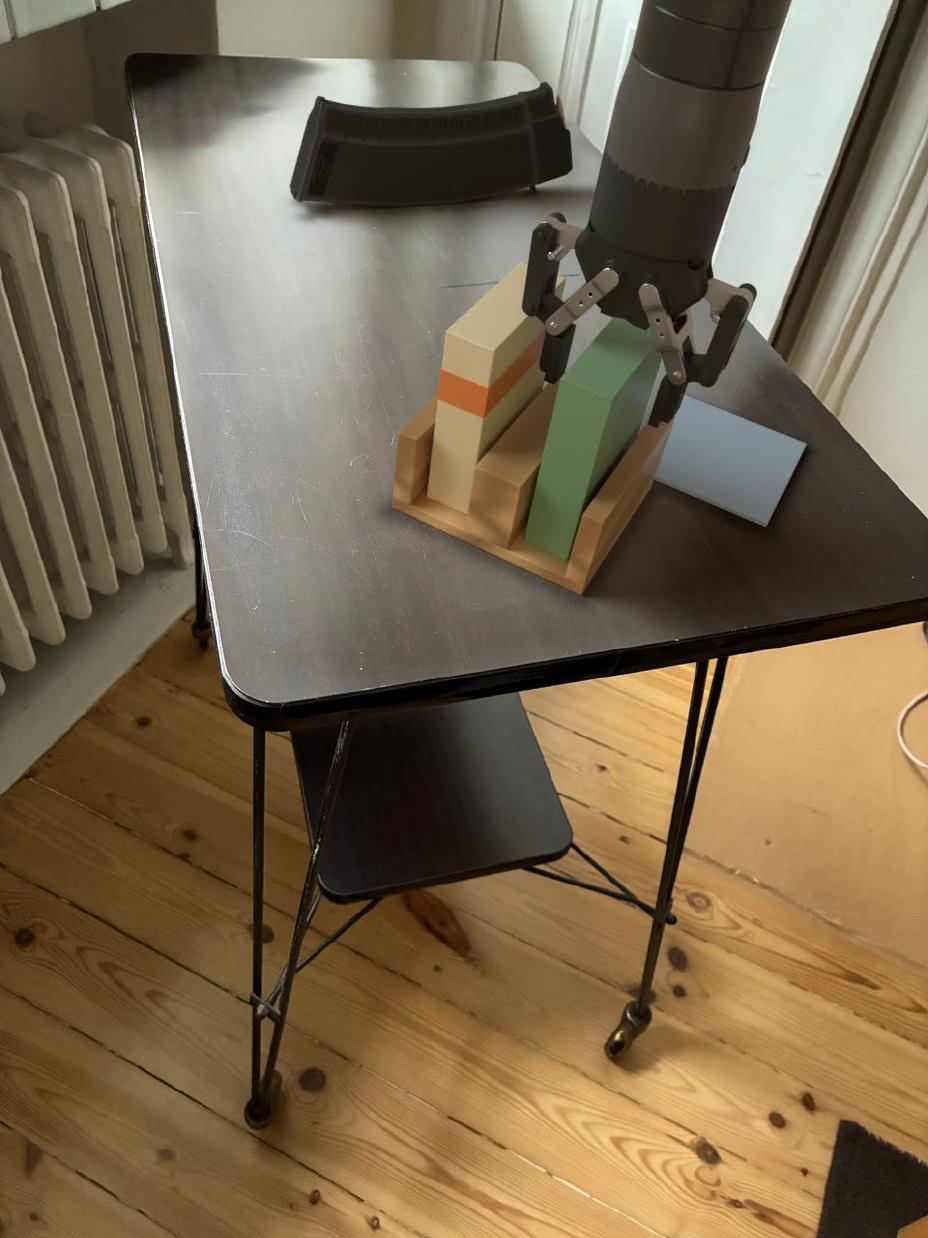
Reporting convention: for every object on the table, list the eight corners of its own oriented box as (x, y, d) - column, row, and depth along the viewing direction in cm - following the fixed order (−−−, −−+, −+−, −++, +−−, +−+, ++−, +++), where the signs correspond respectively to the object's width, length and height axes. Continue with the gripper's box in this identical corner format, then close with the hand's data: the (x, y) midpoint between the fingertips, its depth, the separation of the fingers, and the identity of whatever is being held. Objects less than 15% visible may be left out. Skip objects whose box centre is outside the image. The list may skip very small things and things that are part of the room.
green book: (624, 478, 76) (674, 319, 66) (566, 561, 70) (612, 399, 59) (583, 460, 77) (626, 301, 67) (522, 541, 70) (560, 377, 60)
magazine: (270, 123, 92) (564, 18, 94) (262, 108, 93) (550, 5, 96) (320, 279, 105) (576, 184, 108) (312, 263, 107) (563, 170, 110)
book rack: (651, 487, 78) (676, 415, 72) (580, 595, 69) (603, 523, 64) (479, 413, 81) (490, 339, 76) (391, 507, 73) (397, 432, 67)
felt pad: (805, 447, 84) (807, 443, 83) (765, 527, 76) (767, 523, 76) (674, 394, 86) (676, 390, 86) (624, 467, 79) (625, 463, 79)
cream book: (533, 438, 78) (567, 277, 68) (468, 516, 71) (494, 351, 61) (493, 421, 79) (521, 260, 69) (425, 497, 72) (444, 330, 62)
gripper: (527, 131, 53) (485, 386, 65) (780, 220, 50) (685, 471, 62) (582, 90, 58) (533, 335, 70) (817, 169, 54) (722, 412, 67)
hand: (605, 398), depth 66 cm, fingers open, 7 cm apart
